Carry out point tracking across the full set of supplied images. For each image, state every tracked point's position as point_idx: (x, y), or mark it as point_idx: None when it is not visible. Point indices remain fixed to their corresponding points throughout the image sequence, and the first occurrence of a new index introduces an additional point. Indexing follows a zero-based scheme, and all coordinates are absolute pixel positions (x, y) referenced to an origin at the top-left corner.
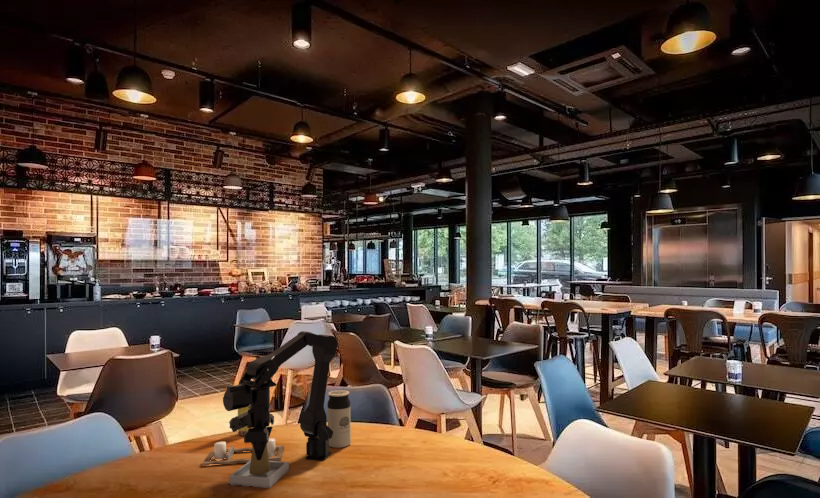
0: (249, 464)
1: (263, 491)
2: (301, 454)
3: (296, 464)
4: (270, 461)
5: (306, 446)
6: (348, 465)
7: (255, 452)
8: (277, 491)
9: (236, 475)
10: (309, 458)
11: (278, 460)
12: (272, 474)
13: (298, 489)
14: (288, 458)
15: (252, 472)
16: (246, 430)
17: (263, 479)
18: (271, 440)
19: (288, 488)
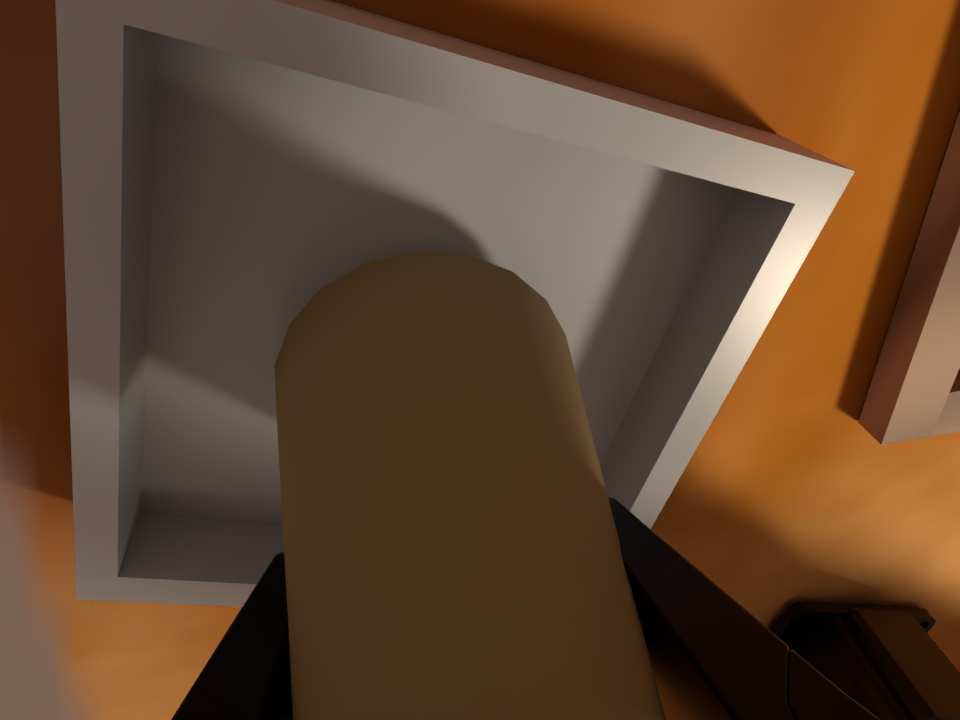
0: (703, 174)
1: (6, 484)
2: (933, 541)
3: (702, 565)
4: (670, 456)
5: (905, 685)
6: None
7: (186, 708)
8: (43, 594)
9: (117, 112)
10: (774, 633)
11: (869, 405)
12: (224, 587)
13: (126, 707)
14: (891, 470)
15: (289, 346)
16: None
17: (79, 529)
18: None
19: (134, 647)
